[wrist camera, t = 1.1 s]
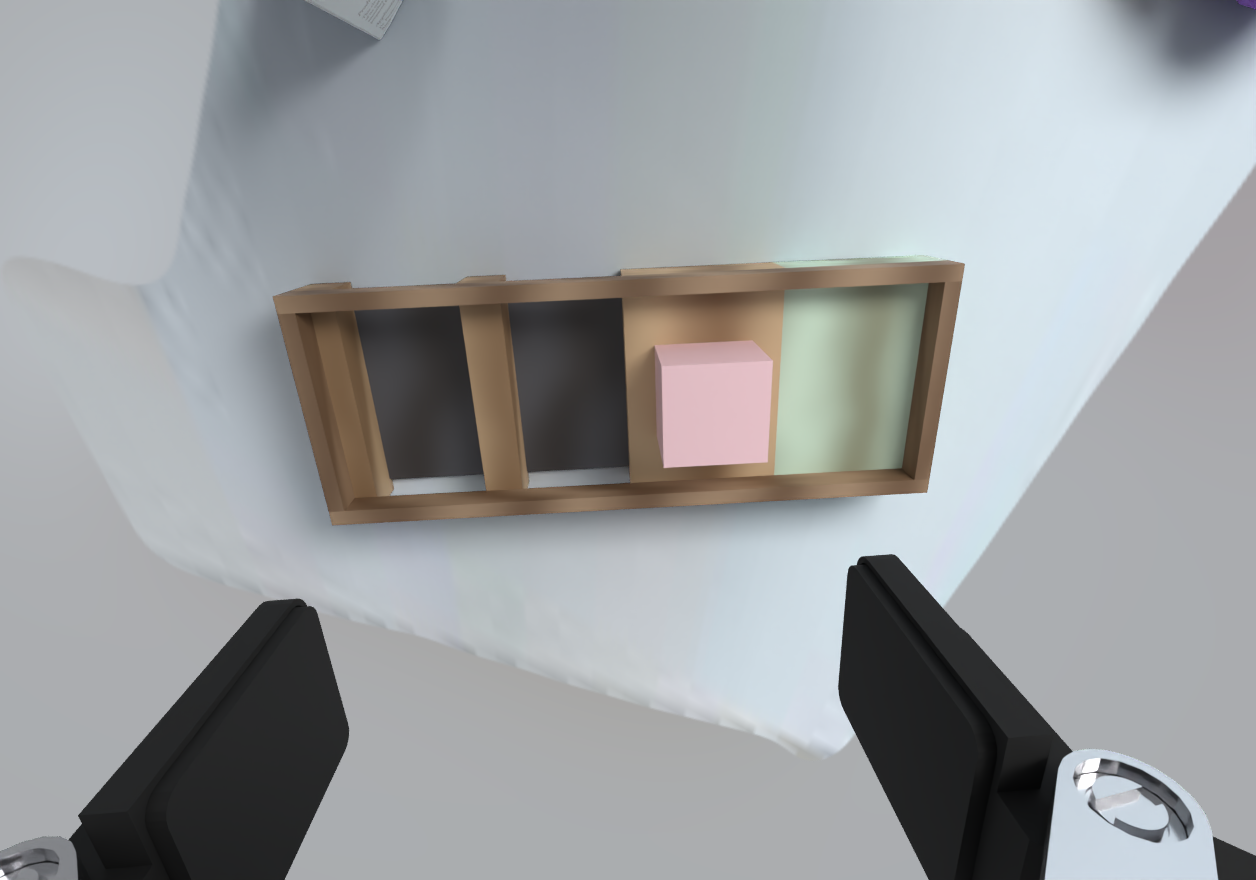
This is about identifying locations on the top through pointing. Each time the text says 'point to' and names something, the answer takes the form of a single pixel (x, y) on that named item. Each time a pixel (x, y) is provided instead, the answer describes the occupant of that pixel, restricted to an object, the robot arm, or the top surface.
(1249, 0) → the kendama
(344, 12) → the skincare box
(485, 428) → the box
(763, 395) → the rose block
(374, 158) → the top surface
